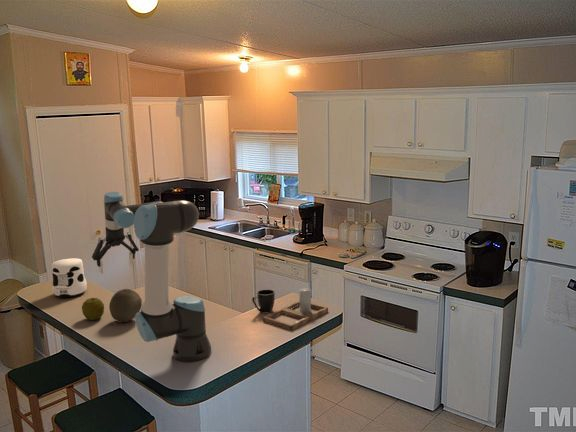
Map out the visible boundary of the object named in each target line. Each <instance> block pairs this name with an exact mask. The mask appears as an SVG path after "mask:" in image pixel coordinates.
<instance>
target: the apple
mask: <svg viewBox="0 0 576 432" xmlns="http://www.w3.org/2000/svg"><path fill="white" fill-rule="evenodd" d="M81 311H82V315H83V316H84V317H85V319H87V320H91V321H97V320H98V319H100V318H101V317H102V316H103V314H104V312H105V304H104V303H103V301H102V300H101V299H99V298H98V297H90V298H86V300H84V302H83V303H82V306H81Z"/></svg>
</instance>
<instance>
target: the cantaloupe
mask: <svg viewBox="0 0 576 432" xmlns="http://www.w3.org/2000/svg"><path fill="white" fill-rule="evenodd" d="M142 304H143V300H142V298H141V295H140V294H139V293H137V292H136V291H135V290H133V289H130V288H123V289H120V290H118V291H117V292H116V293H114V294H113V295H112V297H111V299H110V301H109V306H108V307H109V308H108V309H109V312H110V315H111V317H112V318H113V320H115V321H117V322H119V323H127V322H129V321H132V320H134V319H135V315H136V313H138V312H141V305H142Z"/></svg>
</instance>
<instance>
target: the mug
mask: <svg viewBox="0 0 576 432" xmlns="http://www.w3.org/2000/svg"><path fill="white" fill-rule="evenodd" d="M275 297H276V296H275V290H273V289H267V288H265V289H261V290H258V291H257V294H256V296H253V297H252V298H251V301H252V303H253V305H254V306H255V308H256V309H257V311H258V312H260V313H263V312H269V313H271V312H270V311H272V312H273V308H274V306H275V305H274V304H275ZM255 299H257V302H258V303H256V301H255ZM257 304H258V305H257Z"/></svg>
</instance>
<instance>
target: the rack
mask: <svg viewBox="0 0 576 432" xmlns="http://www.w3.org/2000/svg"><path fill="white" fill-rule="evenodd" d="M297 305H299V300H297V301H295V302H293V303H291V304H289V305H287V306H285V307H283V308H280V309H278V310H275V311H272V313H271V312H270V313H268V314H267V315H265V316H263V317H262V322H263V323H268V324H270V323H271V325H273V324H274V326H276V325H277V327H279V326H280V328H282V327H283V329H286V330H289V331H294V330H295V329H297V328H299V327H301V326H303V325H305V324H307V323H309V322H311V321H313V320H315V319H316V318H318V317H321V316H323V315H324V314H326V313H328V312H329V307H327V306H322V305H319V304H315V303H312V302H311V307H312V308H311V309H313V308H314V310H316V309H317V311H315V312H314V313H312V314H305V313H302V312H300V311H298V310H295V309H294V308H293V307H295V306H297ZM291 308H293V309H291ZM295 308H296V307H295ZM281 313H284V314H287V315H286V316H288V315H290V316H289V317H291V316H293V317H292V318H294V317H296V318H295V319H298V318H299V319H298V320H296V321H295V322H294V323H292V324H289V323H286V322H284V321H281V320H276V319H274V318H276V317H278V316H280V315H282V314H281ZM279 314H280V315H279ZM284 314H283V315H284ZM277 315H278V316H277ZM275 316H276V317H275ZM273 317H274V318H273ZM271 318H272V319H271Z"/></svg>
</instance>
